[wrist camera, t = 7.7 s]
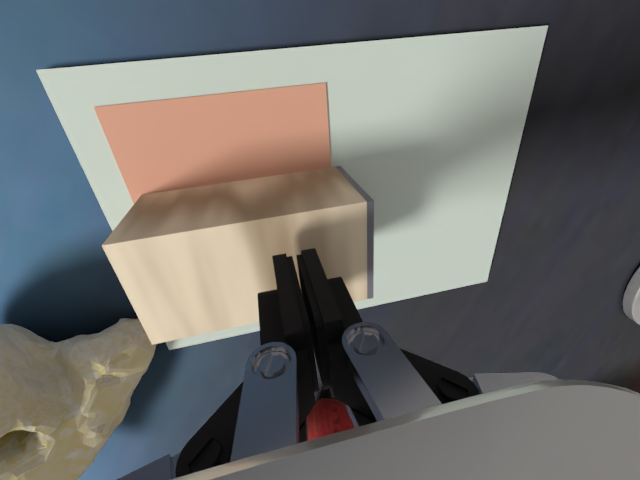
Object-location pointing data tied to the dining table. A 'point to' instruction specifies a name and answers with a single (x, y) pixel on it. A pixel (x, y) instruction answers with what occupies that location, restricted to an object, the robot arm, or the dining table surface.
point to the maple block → (237, 247)
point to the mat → (324, 137)
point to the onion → (328, 418)
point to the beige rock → (65, 397)
